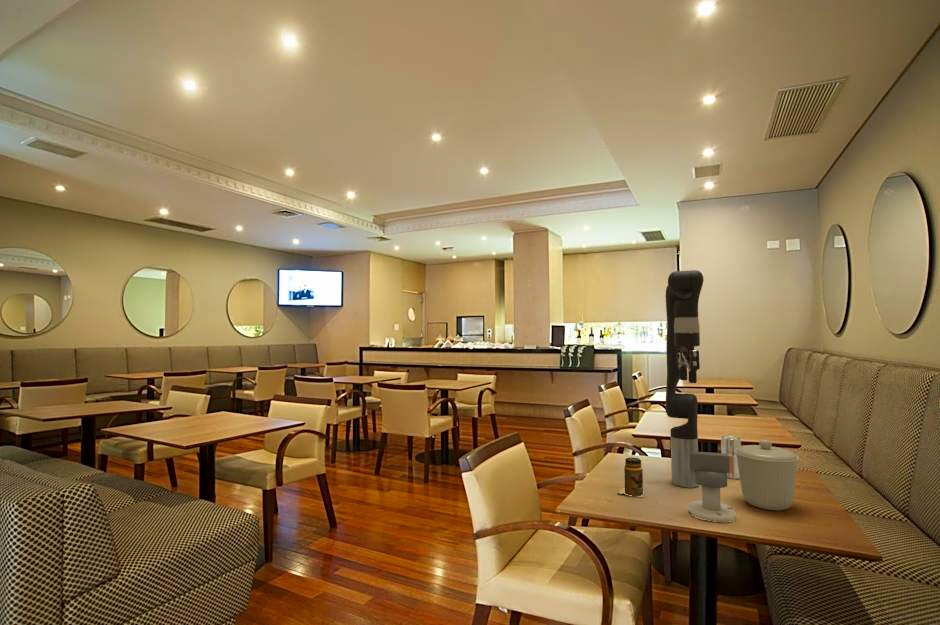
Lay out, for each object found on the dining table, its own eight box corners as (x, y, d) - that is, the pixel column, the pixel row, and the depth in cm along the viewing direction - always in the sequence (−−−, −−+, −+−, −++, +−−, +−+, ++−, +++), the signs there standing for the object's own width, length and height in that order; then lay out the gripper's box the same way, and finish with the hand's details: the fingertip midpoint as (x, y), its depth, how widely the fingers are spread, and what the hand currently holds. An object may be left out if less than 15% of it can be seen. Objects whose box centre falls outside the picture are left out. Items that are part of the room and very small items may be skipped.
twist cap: (691, 485, 145) (690, 455, 146) (688, 477, 154) (687, 448, 154) (736, 489, 141) (735, 458, 142) (730, 480, 150) (729, 451, 150)
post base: (682, 506, 154) (681, 477, 155) (724, 507, 153) (724, 479, 153) (697, 522, 141) (696, 491, 142) (743, 523, 140) (742, 492, 140)
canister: (765, 518, 144) (763, 447, 145) (722, 497, 162) (721, 435, 163) (816, 513, 148) (813, 444, 149) (768, 494, 165) (766, 432, 166)
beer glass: (717, 475, 187) (716, 436, 188) (729, 473, 190) (728, 435, 191) (734, 480, 181) (732, 440, 181) (746, 477, 184) (745, 438, 184)
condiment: (642, 498, 162) (641, 462, 162) (616, 494, 166) (616, 459, 166) (645, 492, 168) (645, 457, 169) (621, 488, 172) (620, 454, 173)
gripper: (668, 331, 163) (669, 379, 163) (682, 331, 149) (683, 383, 148) (691, 331, 163) (692, 379, 162) (707, 331, 148) (708, 384, 148)
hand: (688, 381), depth 155 cm, fingers open, 8 cm apart
